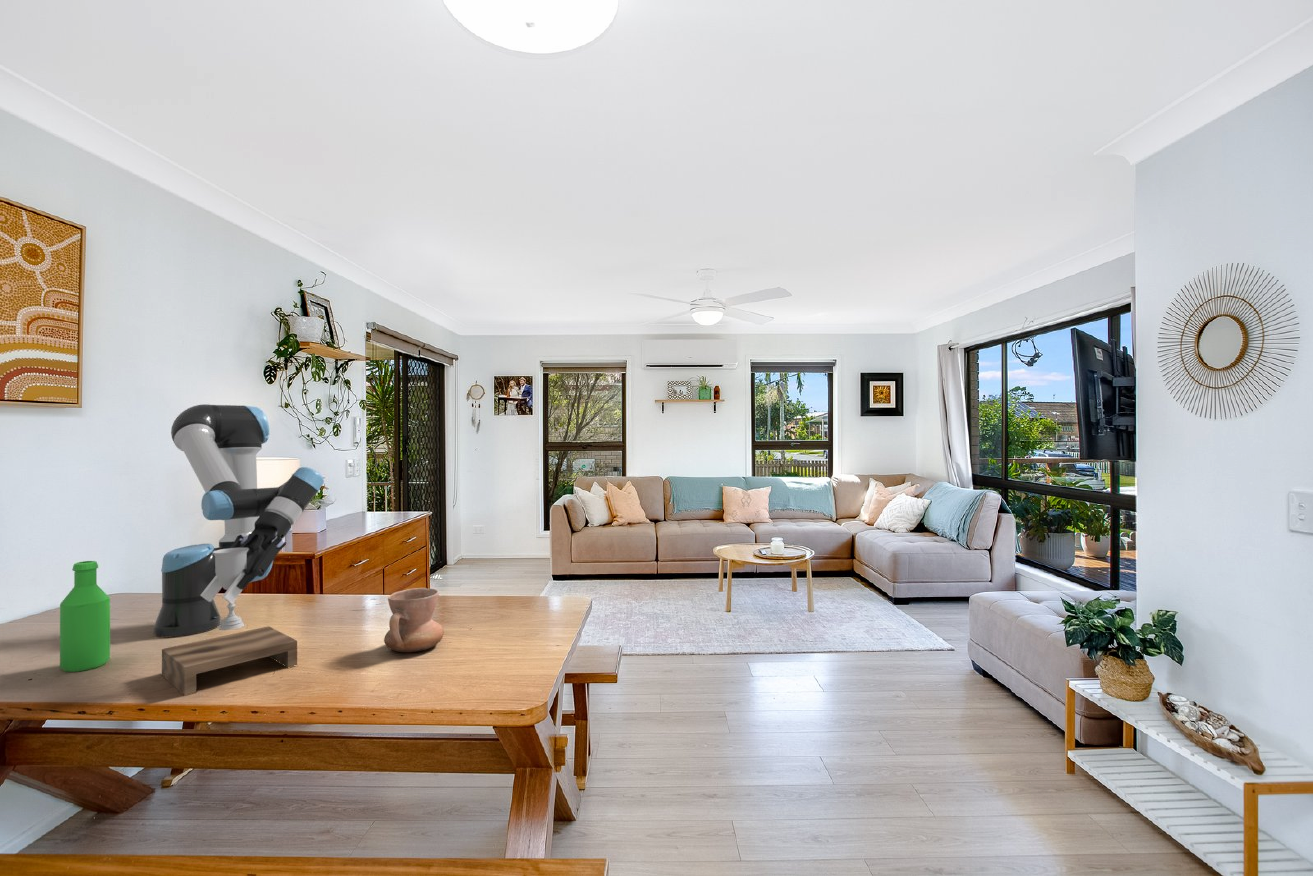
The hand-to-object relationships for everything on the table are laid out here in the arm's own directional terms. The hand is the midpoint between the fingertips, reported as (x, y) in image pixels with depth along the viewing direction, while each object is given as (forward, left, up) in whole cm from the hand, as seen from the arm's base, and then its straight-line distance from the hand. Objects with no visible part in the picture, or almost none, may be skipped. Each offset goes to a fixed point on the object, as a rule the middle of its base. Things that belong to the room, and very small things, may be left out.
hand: (216, 599), depth 141 cm
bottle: (-32, -18, -18) cm, 40 cm away
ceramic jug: (+17, +38, -18) cm, 46 cm away
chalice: (-1, +3, -8) cm, 8 cm away
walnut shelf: (-2, +3, -18) cm, 18 cm away
